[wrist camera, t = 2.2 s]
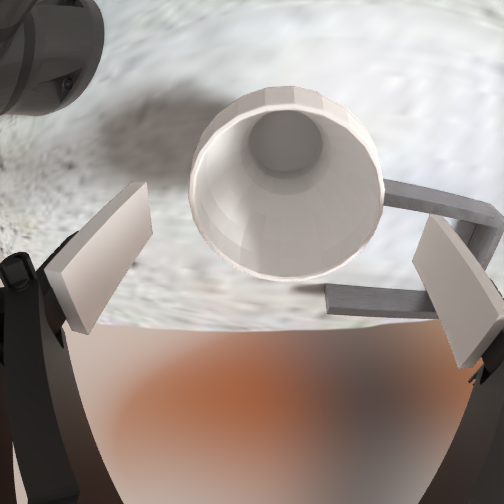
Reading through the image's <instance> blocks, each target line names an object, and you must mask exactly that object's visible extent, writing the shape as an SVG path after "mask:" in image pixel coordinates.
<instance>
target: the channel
mask: <svg viewBox="0 0 504 504" xmlns="http://www.w3.org/2000/svg"><path fill="white" fill-rule="evenodd" d="M383 182H384V188H385V194H384V203H383V205H384V206H390V207H396V208H402V209H408V210H413V211H419V212H424V213H430V214H435V215H440V216H445V217H450V218H455V219H459V220H464V221H469V222H473V223H477V225H476V227H475V230H474V232H473V235H472V237H471V239H470V242H469V244H468V246H467V248H468V249H469V250H470V252H471V253H472V254H473V256H474V257H475V258H476V260H477V261H478V263H479V264H480V265H481V267H482V268H483V270H484V271H485V270H486V268H487V266H488V264H489V262H490V260H491V258H492V256H493V254H494V252H495V250H496V247H497V245H498V243H499V241H500V239H501V236H502V234H503V232H504V216H503V215H502V214H501V213H500V212H499V211H498V210H496V209H495V208H494V207H493V206H492V205H491V204H488V203H484V202H481V201H477V200H474V199H470V198H466V197H463V196H459V195H455V194H451V193H447V192H443V191H438V190H434V189H430V188H425V187H421V186H416V185H412V184H407V183H402V182H397V181H392V180H387V179H383ZM324 293H325V301H326V309H327V314H333V315H349V316H366V317H387V318H417V319H439V317H438V315H437V312H436V310H435V308H434V306H433V303H432V301H431V299H430V297H429V295H428V292H427V291H412V290H398V289H385V288H372V287H360V286H348V285H336V284H326V286H325V290H324Z"/></svg>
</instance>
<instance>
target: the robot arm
mask: <svg viewBox="0 0 504 504" xmlns="http://www.w3.org/2000/svg"><path fill="white" fill-rule="evenodd" d="M103 44H104V23H103V18H102V14H101V12H100V9H99V7H98V6H97V4H96V3H95V2H94V1H93V0H0V115H3V114H16V115H30V116H40V115H45V114H49V113H52V112H54V111H57V110H60V109H62V108H65V107H66V106H68V105H69V104H71V103H72V102H73V101H75V100H76V99H77V98H78V97H79V96H80V95H81V94H82V92H83V91H84V90H85V89H86V87H87V86H88V84H89V83H90V81H91V79H92V78H93V76H94V74H95V71H96V69H97V67H98V64H99V61H100V58H101V54H102V50H103ZM152 234H153V232H152V225H151V217H150V209H149V200H148V191H147V182H131V183H130V184H129V185H128V186H126V187H125V188H124V189H123V190H122V191H121V192H120V193H119V194H117V195H116V196H115V197H114V198H113V199H112V200H111V201H110V202H109V203H108V204H107V205H105V206H104V207H103V208H102V209H101V210H100V211H99V212H98V213H97V214H96V215H95V216H94V217H93V218H92V219H91V220H90V221H89V222H88V223H87V224H86V225H85V226H84V227H83V228H82V229H81V230H80V231H77V232H75V233H74V234H72V235H71V236H69V237H67V238H66V239H65V240H64V241H63V243H62V244H61V245H60V247H58V248H57V249H56V250H55V251H54V253H52V254H51V255H50V256H49V257H48V259H47V260H46V261H45V262H44V263H43V264H42V265H41V266H40V267H39V269H38V270H37V271H35V269H34V267H33V264H32V262H31V259H30V256H29V254H27V253H26V252H18V253H14V254H12V255H10V256H8V257H7V258H5V259H4V260H3V261H2V262H1V263H0V278H1V280H2V282H3V284H4V286H5V287H1V288H0V504H17V501H16V493H15V483H14V470H13V445H12V444H14V449H15V453H16V458H17V462H18V465H19V470H20V473H21V477H22V481H23V484H24V487H25V490H26V494H27V498H28V504H124V503H123V502H122V500H121V498H120V496H119V494H118V492H117V490H116V488H115V486H114V484H113V482H112V480H111V478H110V475H109V473H108V471H107V469H106V467H105V464H104V462H103V460H102V457H101V455H100V452H99V450H98V448H97V445H96V442H95V440H94V437H93V435H92V432H91V429H90V426H89V423H88V420H87V418H86V414H85V411H84V408H83V405H82V402H81V398H80V395H79V391H78V388H77V384H76V381H75V377H74V373H73V369H72V365H71V361H70V357H69V351H68V347H67V342H66V337H65V332H64V330H63V328H62V325H63V323H64V321H65V320H67V322H68V324H69V326H70V328H71V329H72V331H76V332H79V333H82V334H86V335H89V334H90V332H91V330H92V328H93V327H94V325H95V323H96V321H97V320H98V318H99V316H100V315H101V313H102V311H103V309H104V308H105V306H106V304H107V303H108V301H109V300H110V298H111V296H112V295H113V293H114V291H115V290H116V288H117V287H118V285H119V284H120V282H121V280H122V279H123V277H124V276H125V274H126V273H127V271H128V270H129V268H130V266H131V265H132V263H133V262H134V260H135V259H136V257H137V256H138V254H139V253H140V251H141V250H142V249H143V247H144V246H145V244H146V243H147V241H148V240H149V238H150V237H151V235H152ZM412 262H413V264H414V266H415V268H416V270H417V272H418V274H419V276H420V278H421V280H422V282H423V284H424V286H425V288H426V290H427V292H428V295H429V297H430V299H431V301H432V303H433V306H434V308H435V310H436V312H437V315H438V317H439V319H440V321H441V324H442V327H443V329H444V331H445V334H446V336H447V339H448V341H449V344H450V347H451V349H452V352H453V355H454V357H455V360H456V363H457V366H458V369H461V368H469V367H473V366H474V365H475V364H476V362H477V361H478V360H479V359H480V357H482V359H483V362H484V364H483V365H482V366H481V367H480V368H479V369H478V370H477V371H476V373H475V374H474V375H473V376H472V377H471V378H470V380H469V381H468V382H469V383H470V382H472V380H473V379H476V381H475V383H474V384H473V386H474V387H473V390H472V393H471V396H470V399H469V402H468V404H467V407H466V410H465V412H464V415H463V417H462V420H461V422H460V425H459V427H458V430H457V432H456V434H455V436H454V439H453V441H452V443H451V445H450V448H449V449H448V451H447V454H446V455H445V458H444V459H443V462H442V463H441V465H440V467H439V469H438V471H437V473H436V475H435V476H434V478H433V480H432V482H431V484H430V485H429V487H428V488H427V490H426V492H425V493H424V495H423V497H422V498H421V500H420V502H419V503H418V504H504V298H502V295H501V293H500V292H499V291H498V289H497V287H496V286H495V284H494V282H493V281H492V280H491V279H490V278H489V277H488V275H487V274H486V273H485V271H484V270H483V268H482V267H481V265H480V264H479V263H478V261H477V260H476V258H475V257H474V256H473V254H472V253H471V252H470V250H469V249H468V248H467V246H466V245H465V244H464V242H463V241H462V240H461V238H460V237H459V236H458V235H457V233H456V232H455V231H454V230H453V228H452V227H451V226H450V225H449V223H448V222H447V221H446V220H445V219H444V218H443V216H440V215H435V214H429V217H428V220H427V223H426V226H425V228H424V231H423V234H422V237H421V239H420V242H419V245H418V247H417V250H416V252H415V255H414V257H413V260H412ZM12 442H13V443H12Z"/></svg>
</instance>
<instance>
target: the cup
mask: <svg viewBox="0 0 504 504" xmlns="http://www.w3.org/2000/svg"><path fill="white" fill-rule="evenodd" d="M384 194H385V188H384V182H383V177H382V172H381V167H380V162H379V158H378V154H377V150H376V147H375V145H374V143H373V141H372V139H371V137H370V136H369V134H368V132H367V130H366V128H365V127H364V125H363V124H362V123H361V122H360V121H359V120H358V119H357V118H356V117H355V116H354V115H353V114H352V113H351V112H350V111H349V110H348V109H347V108H346V107H344V106H343V105H341V104H339V103H337V102H336V101H334V100H332V99H330V98H328V97H326V96H324V95H323V94H321V93H319V92H317V91H313V90H308V89H304V88H299V87H295V86H281V87H267V88H264V89H261V90H258V91H255V92H252V93H249V94H247V95H244V96H242V97H240V98H239V99H237V100H236V101H234V102H233V103H232V104H230V105H229V106H227V107H226V108H225V109H223V110H222V111H221V112H219V113H218V114H217V115H216V116H215V117H214V119H213V120H212V121H211V123H210V124H209V125H208V126H207V128H206V129H205V130H204V132H203V133H202V135H201V137H200V140H199V142H198V145H197V147H196V150H195V153H194V155H193V160H192V166H191V171H190V182H189V197H188V198H189V203H190V207H191V212H192V216H193V220H194V222H195V224H196V226H197V228H198V230H199V232H200V234H201V235H202V237H203V239H204V241H205V242H206V243H207V244H208V245H209V246H210V247H211V248H212V250H213V251H214V252H215V253H216V254H217V255H218V256H219V257H220V258H222V259H223V260H224V261H226V262H227V263H229V264H230V265H232V266H233V267H235V268H236V269H238V270H240V271H243V272H245V273H247V274H250V275H252V276H255V277H257V278H262V279H268V280H274V281H279V282H282V281H304V280H308V279H312V278H316V277H320V276H324V275H326V274H328V273H330V272H332V271H334V270H336V269H338V268H340V267H342V266H344V265H345V264H346V263H348V262H349V261H350V260H351V259H353V258H354V257H355V256H356V255H358V254H359V253H360V252H361V251H362V249H363V248H364V247H365V245H366V244H367V243H368V241H369V240H370V239H371V237H372V236H373V235H374V233H375V230H376V228H377V225H378V223H379V220H380V218H381V215H382V212H383V203H384Z"/></svg>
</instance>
